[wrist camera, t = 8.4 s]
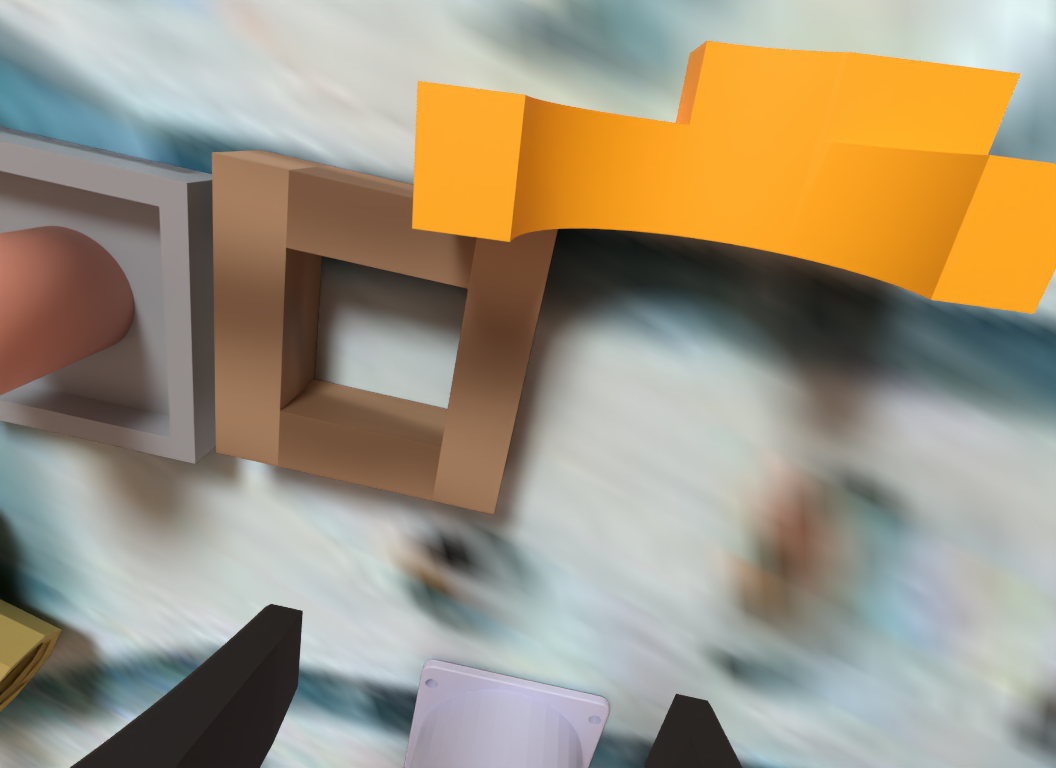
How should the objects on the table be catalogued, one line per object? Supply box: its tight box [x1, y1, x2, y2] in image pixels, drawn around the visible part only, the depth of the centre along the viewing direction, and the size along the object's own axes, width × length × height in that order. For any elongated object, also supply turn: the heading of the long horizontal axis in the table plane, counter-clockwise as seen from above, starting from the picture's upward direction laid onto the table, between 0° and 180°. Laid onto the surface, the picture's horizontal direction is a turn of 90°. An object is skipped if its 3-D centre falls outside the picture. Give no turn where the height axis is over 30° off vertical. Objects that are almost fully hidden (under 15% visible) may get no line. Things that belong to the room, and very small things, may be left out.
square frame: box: [212, 150, 558, 514], centre depth 18 cm, size 9×9×2 cm
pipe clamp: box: [412, 41, 1056, 314], centre depth 13 cm, size 12×4×6 cm, turn 83°
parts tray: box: [0, 127, 216, 464], centre depth 18 cm, size 9×9×2 cm
